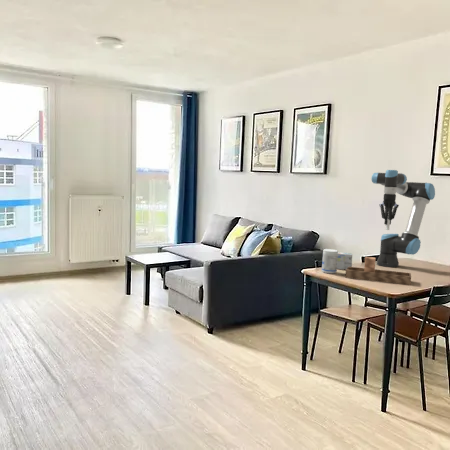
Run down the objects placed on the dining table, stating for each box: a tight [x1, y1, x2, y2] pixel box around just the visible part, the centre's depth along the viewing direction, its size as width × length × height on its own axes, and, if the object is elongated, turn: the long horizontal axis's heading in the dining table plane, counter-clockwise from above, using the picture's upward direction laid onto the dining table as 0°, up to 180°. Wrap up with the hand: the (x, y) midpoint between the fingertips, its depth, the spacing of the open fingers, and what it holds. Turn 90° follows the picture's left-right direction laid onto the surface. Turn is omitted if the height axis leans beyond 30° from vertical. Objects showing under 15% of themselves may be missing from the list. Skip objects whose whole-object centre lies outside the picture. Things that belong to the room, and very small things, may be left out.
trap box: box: [345, 266, 412, 286], centre depth 297 cm, size 38×12×5 cm, turn 70°
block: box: [363, 256, 377, 273], centre depth 298 cm, size 6×6×10 cm
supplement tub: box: [321, 248, 339, 275], centre depth 312 cm, size 10×10×15 cm
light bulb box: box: [337, 252, 353, 271], centre depth 327 cm, size 11×7×11 cm, turn 84°
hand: (387, 229), depth 313 cm, fingers closed
